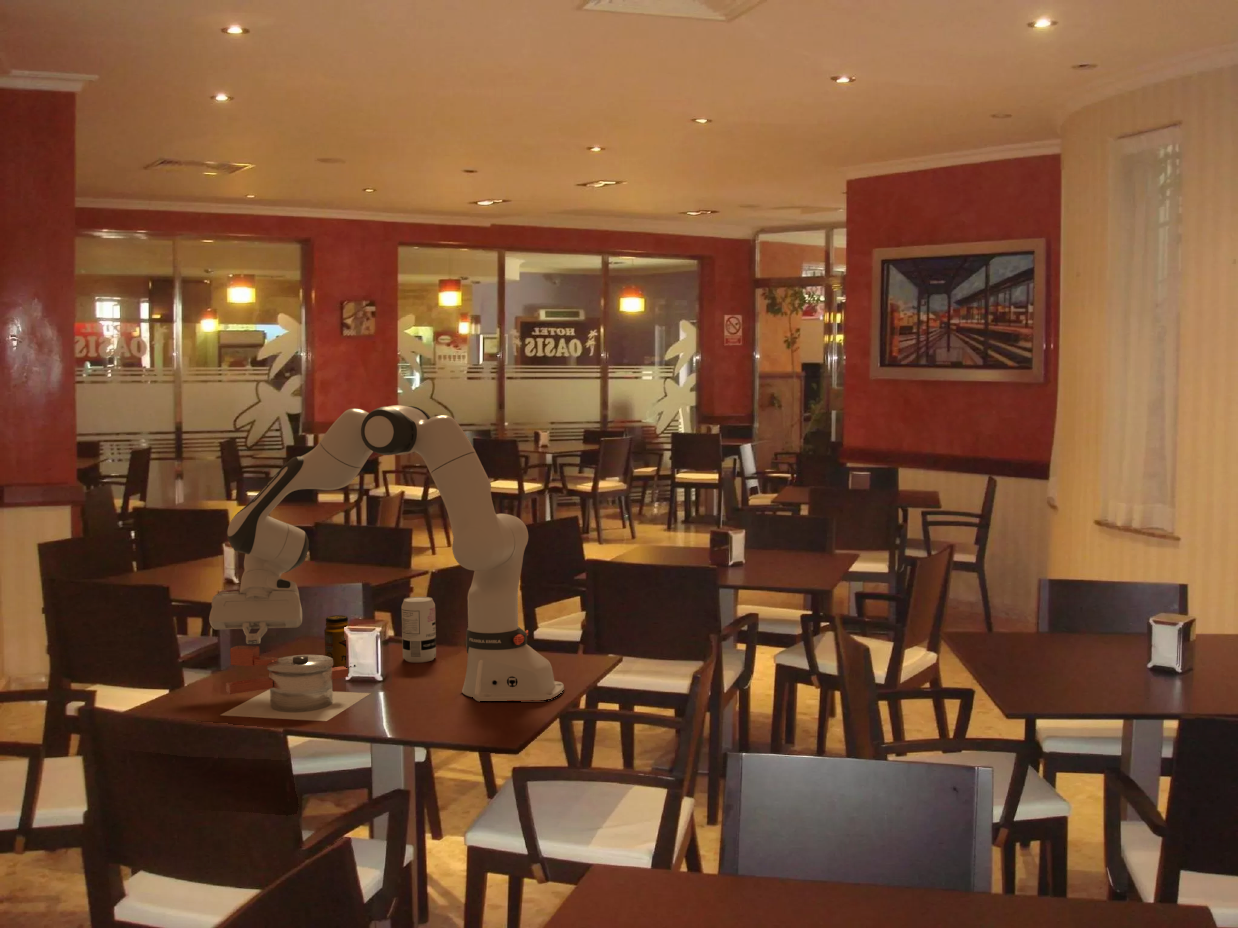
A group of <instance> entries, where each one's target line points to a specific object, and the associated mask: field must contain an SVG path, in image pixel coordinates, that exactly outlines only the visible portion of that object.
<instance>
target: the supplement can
mask: <svg viewBox="0 0 1238 928" xmlns="http://www.w3.org/2000/svg"><path fill="white" fill-rule="evenodd" d="M436 627H437V626H436V604H435V602H434V600H433V598H432V597H429V596H412V597H405V598H403V602H402V604H401V636H402V637H401V639H402V640H401V643H402V647H401V648H402V659H404V660H405V661H406V662H408V663H415V664H416V663H427V662H430V661H433V660H434V658H436V657H437V635H436V634H437V633H436V632H437V631H436V630H437V629H436Z"/></svg>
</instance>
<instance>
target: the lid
mask: <svg viewBox="0 0 1238 928" xmlns="http://www.w3.org/2000/svg"><path fill="white" fill-rule="evenodd" d="M229 649H230V650H229V652H230V654H229V655H230V666H241V667H242V666H243V667H254V666H267V670H268V671H270V672H272V673H277V674H289V675H294V674H308V673H315V672H320V671H324V670H327V669H329V668H331V667H332V666H333V659H332V658H331V657H328V656H325V655H323V654H322V655H320V654H298V655H289V656H288V655H287V656H283V657H279V658H278V657H272V656H260V646H257V645H256V646H255V645H253V646H252V645H236V646H233V647H231V648H229Z"/></svg>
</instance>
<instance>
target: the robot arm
mask: <svg viewBox="0 0 1238 928" xmlns="http://www.w3.org/2000/svg"><path fill="white" fill-rule="evenodd" d="M373 453H375V454H378V455H382V456H393V455H394V456H403V455H404V456H405V455H409V454H413V453H417V454H418V455H419V456H420V457H421V458H422V460H423V461H424V463H425V465H426V468H427V469H428V471H429V474H430V476H431V478H432V480H433V481H434V484H435V487H436V488H437V490H438V492H439V495H440V497H441V499H442V501H443V504H444V506H445V509H446V512H447V515H448V519H449V520H448V521H449V525H450V529H451V532H452V538H453V539H452V545H451V551H452V554H453V557H454V559H455V561H456V562H457V563H458V565H460V566H461V567H462V568H463V569H466V570H469V571H474V572H473V576H472V580H471V585H470V587H469V589H468V591H467V622H468V623H467V624H468V625H467V626H468V627H467V629H466V634H465V635H466V636H465V646H466V653H467V661H466V662H467V664H466V671H465V672H466V673H465V677H464V683H463V686H462V690H461V692H462V694H463V695H465V696H466V697H469V698H472V697H473V699H474V700H475V701H477V702H480V701H507V700H546V699H551V698H552V697H555V696H557V695H558V694H560V693H562V694H563V692H564V691H565V686H564V683H563V682H561V681H556V680H555V675H554V671H553V670H554V669H553V667H552V664H551V662H550V660H548V659H547V658H546V657H545V656H543V655H542V654H540V653H539V652H538V651H536V650H535V649H533V647H531V646H530V645H528V636H529V630H528V629H526V630H525V631H524V630H523V629H522V628H521V627H520V626H519V588H520V587H519V585H520V580H521V574H522V568H523V560H524V553H525V550H526V547H527V545H528V541H529V532H528V527H527V526H526V524H525V522H524V521H523V520H521V519H520V518H519V517H517V516H515V515H512V514H507V513H496V510H495V507H494V502H493V500H492V499H493V498H492V492H491V491H492V483H491V481H490V479H489V477H488V474H487V472H486V470H485V469H484V466H483V465H482V462H481V460H480V458H479V456H478V454H477V452H476V450H475V448H474V446H473V445H472V443H471V441H470V439H469V437H468V436H467V434H466V433H465V431H464V430H463V428H462V427H461V426H460V424H459V423H458V422H457V420H456V419H455V418H453V417H452V416H449V415H446V414H445V415H443V414H442V415H436V416H432V417H431V416H430V414H428V412H426V410H424V409H422V408H420V407H417V406H415V405H414V406H412V405H409V406H407V405H400V404H396V405H388V406H380V407H378V408H375V409H373V410H371V411H369V412H368V411H366V410H364V409H361V408H349V409H347V410H345V411H344V412H343V413H342V414H341V415H340V416H339V417H337V419H336V420H335V421H334V422H333V423H332V425H331V426H330V427H329V428H328V430H327V431H326V432H325V433H324V435H323V436H322V438H321V440H320V441H319V443H317V445H316V446H315V447H314V448H313V449H311V450H310V451H308V452H307V453H305V454H303V455H301V456H300V455H299V456H294V457H292V458H291V459H289V461H287V462H285V464H284V465H283V466H282V467H281V468H280V469H279V470H278V471H277V472H276V473H275V474H274V475H273V476H272V477H271V478H270V479H269V481H268V482H267V483H266V484H265V485H264V486H263V487H262V489H261V490H260V491H259V492H258V493H257V494H256V495H255V496H254V497H253V499H251V501H249V502H248V504H247V505H245V506H244V507H243V508H242V509H240V510H239V511H238V512H237V513H236V514H235V515H234V516H233V518H232V519H231V521H230V522H229V524H228V527H227V530H226V537H227V541H228V543H229V545H230V547H231V548H232V550H233V551H235V552H238V553H240V554H241V553H242V554H244V559H243V560H244V561H243V569H244V571H243V573H242V576H241V580H240V585H239V586H240V587H239V590H238V591H237V590H235V591H220V592H219V593H217V594H215V595H214V596H212V598H211V609H210V612H209V618H208V621H209V624H210V627H212V628H213V629H214V630H243V633H244V636H245V643H246V645H254V644H255V645H257V644H258V645H259V644H261V639H262V638H263V636H264V635H265V634H266V633H267V632H268V629H282V628H285V629H287V628H298V627H300V626H301V625H302V623H303V609H302V608H303V607H302V605H301V603H302V602H301V600H300V599H301V598H300V591H299V589H298V586H297V583H296V582H295V581H293V580H289V579H284V578H281V576H282V574H283V573H288V572H290V571H293V570H294V569H296V568H299V567H300V566H301V565H302V564H303V563H304V562H305V561H306V559H307V556H308V551H309V548H310V547H309V546H310V545H309V538H308V535H307V533H306V531H305V530H303V529H301V528H300V527H297V526H295V525H292V524H290V523H288V522H285V521H282V520H279V519H276V518H274V517H272V516H269V515H270V514H271V513H272V512H273V511H274V509H275V508H276V507H277V506H278V505H279V504H280V503H281V502H282V501H283V500H284V498H285V497H286V496H288V495H289V494H290V493H292V492H294V491H298V490H299V491H300V490H323V491H333V490H334V491H335V490H339V489H342V488H346V487H347V486H349V485H350V484H351V483H352V482H353V481H354V480H355V478H356V477H357V476H358V475H359V474H360V471H361V470H362V469H363V467H364V465H365V464H366V463H367V460H368V459H369V457H370V456H371V455H372V454H373ZM251 629H259V630H258V631H257V632H256V633H250V632H251ZM563 690H564V691H563ZM562 691H563V692H562ZM560 695H561V694H560ZM551 700H552V699H551Z"/></svg>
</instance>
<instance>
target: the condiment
mask: <svg viewBox="0 0 1238 928" xmlns="http://www.w3.org/2000/svg"><path fill="white" fill-rule="evenodd" d="M347 625H348V626H349V618H348V616H347V615H345V614H344V615H343V614H338V615H337V614H335V615H329V616H327V617H326V618H325V628H324V656H328V657H331V658H332V659H333V666H332V667H341V666H345V665H346V640H345V638H344V627H346V626H347Z"/></svg>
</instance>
